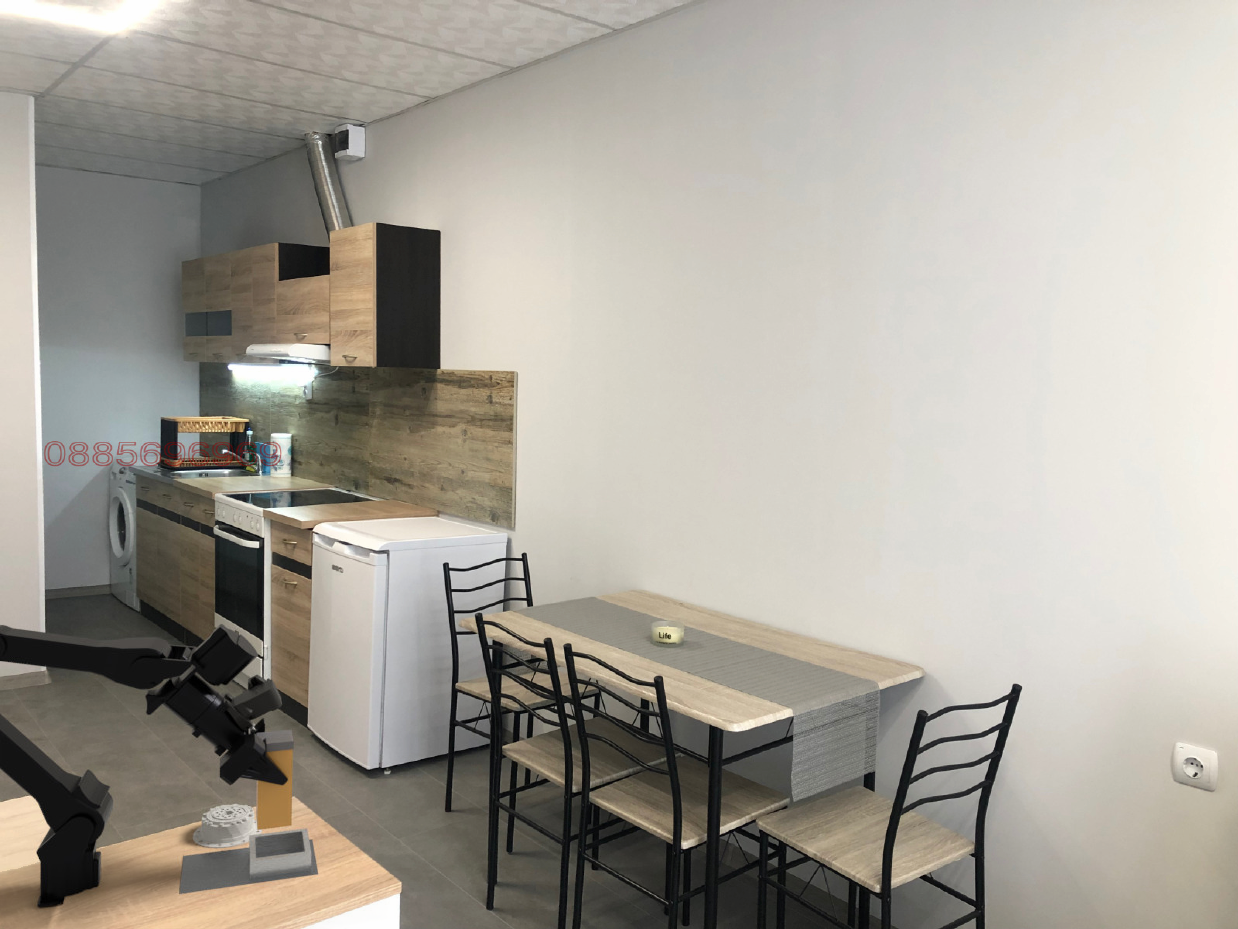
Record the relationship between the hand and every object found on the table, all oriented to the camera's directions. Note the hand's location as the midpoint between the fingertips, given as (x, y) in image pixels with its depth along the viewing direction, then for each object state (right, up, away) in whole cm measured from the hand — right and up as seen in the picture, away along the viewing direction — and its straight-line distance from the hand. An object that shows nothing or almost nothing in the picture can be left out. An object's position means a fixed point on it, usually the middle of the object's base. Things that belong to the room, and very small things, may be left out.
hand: (284, 775), depth 137 cm
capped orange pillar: (-2, -7, 0) cm, 7 cm away
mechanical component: (-12, -13, +9) cm, 20 cm away
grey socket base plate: (-5, -14, -1) cm, 14 cm away
